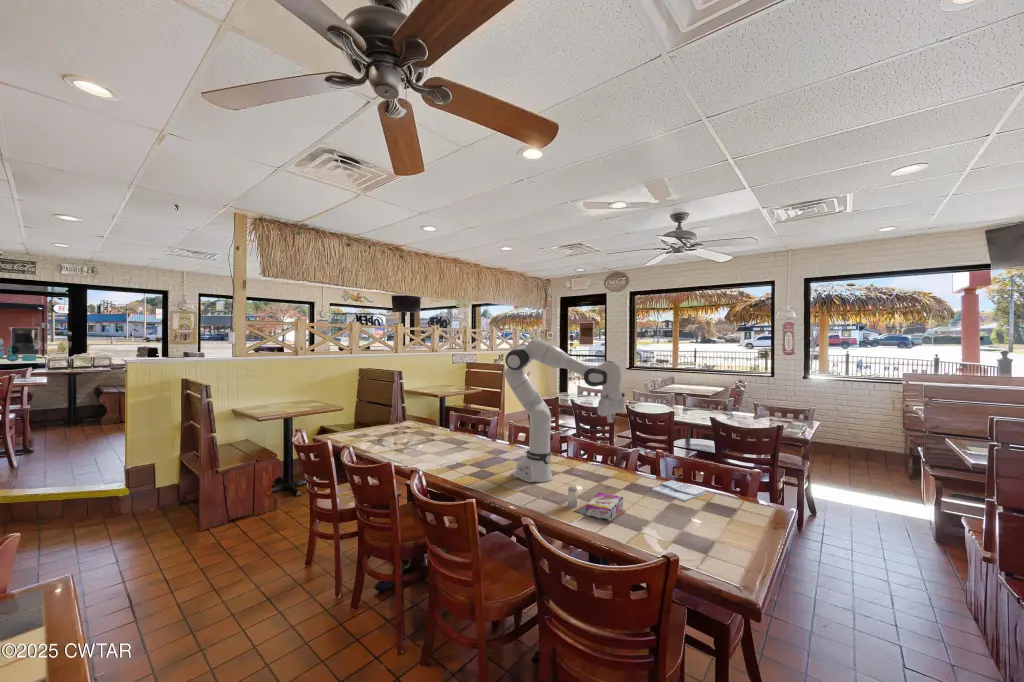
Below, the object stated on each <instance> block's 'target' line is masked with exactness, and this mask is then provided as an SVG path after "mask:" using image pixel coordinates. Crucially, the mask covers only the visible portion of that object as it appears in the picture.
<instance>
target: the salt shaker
mask: <svg viewBox="0 0 1024 682" xmlns="http://www.w3.org/2000/svg"><path fill="white" fill-rule="evenodd" d="M567 507H568V508H571V509H574V508H577V507H578V488H577V487H575V486H569V487H568V489H567Z"/></svg>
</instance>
